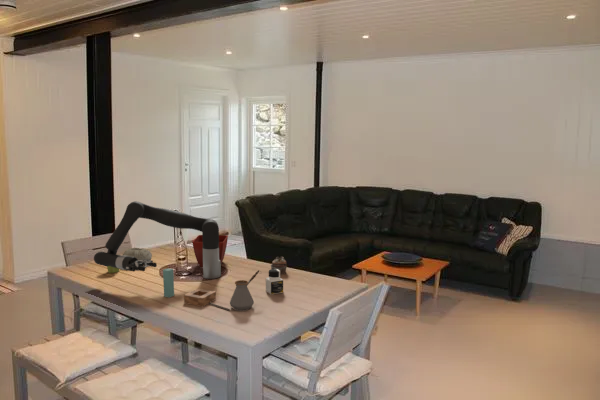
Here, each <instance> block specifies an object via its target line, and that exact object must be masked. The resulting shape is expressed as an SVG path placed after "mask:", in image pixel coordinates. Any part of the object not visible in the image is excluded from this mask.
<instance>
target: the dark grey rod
mask: <svg viewBox="0 0 600 400" xmlns="http://www.w3.org/2000/svg"><path fill="white" fill-rule="evenodd" d="M208 305H212V306H214V307H217V308H220V309H223V310H226V311H229V312H230V308H227V307H225V306H222V305H219V304H216V303H213V302H209V303H208Z"/></svg>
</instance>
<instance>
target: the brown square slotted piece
mask: <svg viewBox="0 0 600 400" xmlns="http://www.w3.org/2000/svg"><path fill="white" fill-rule="evenodd" d="M216 297H217V295H216V291H214V290H209V289H204V288H203V289H202V288H195V289H194V290H191V291H190V292H188V293H185V294H183V303H184V304H188V305H194V306H199V307H204V306H206V305H209V302H210V303H213V301H215V300H216Z"/></svg>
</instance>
